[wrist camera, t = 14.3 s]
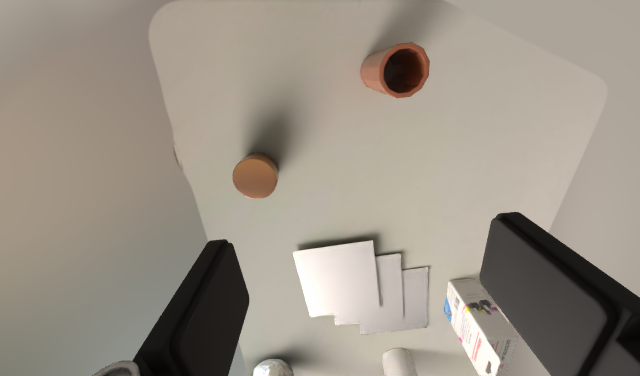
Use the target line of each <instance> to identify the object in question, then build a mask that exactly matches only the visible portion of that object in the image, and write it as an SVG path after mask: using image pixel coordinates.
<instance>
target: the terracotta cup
mask: <svg viewBox="0 0 640 376" xmlns="http://www.w3.org/2000/svg"><path fill="white" fill-rule="evenodd" d="M429 63H430V61H429V59H428V57H427V55H426V53H425V51H424V49H423V48H421V47H420V46H418V45H416V44H414V43H412V42H411V43H402V44H397V45H394V46H391V47H388V48H385V49H382V50H379V51H376V52H373V53H372V54H370V55H369V56H368V57H367V58H366V59H365V60H364V62H363V64H362V66H361V78H362V81H363V83H364V84H365V85H366V86H367V87H369V88H371V89H373V90H375V91H378V92H381V93H384V94H387V95H389V96H392V97H395V98H403V97H410V96H412V95H413V94H414V93H416V92H417V91H419V90H420V89H421V88H422V87H423V85H424V83H425V81H426V80H427V78H428V76H429Z"/></svg>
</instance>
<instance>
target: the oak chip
mask: <svg viewBox="0 0 640 376" xmlns="http://www.w3.org/2000/svg"><path fill="white" fill-rule="evenodd" d="M233 182H234V185H235V187H236V188H237V190H238V191H239V192H240V193H242V194H243V195H245V196H247V197H249V198H253V199H261V198H265V197H267V196H269V195H270V194H271V193H272V192H273V191H274V189H275V187H276V185H277V182H278V170H277V168H276V166H275V165H274V163H273V162H272V161H271V160H270V159H268V158H266V157H264V156H261V155H250V156H247V157H245V158H243V159H242V160H241V161H240V162H239V163H238V165H237V166H236V167H235V169H234V171H233Z"/></svg>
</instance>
